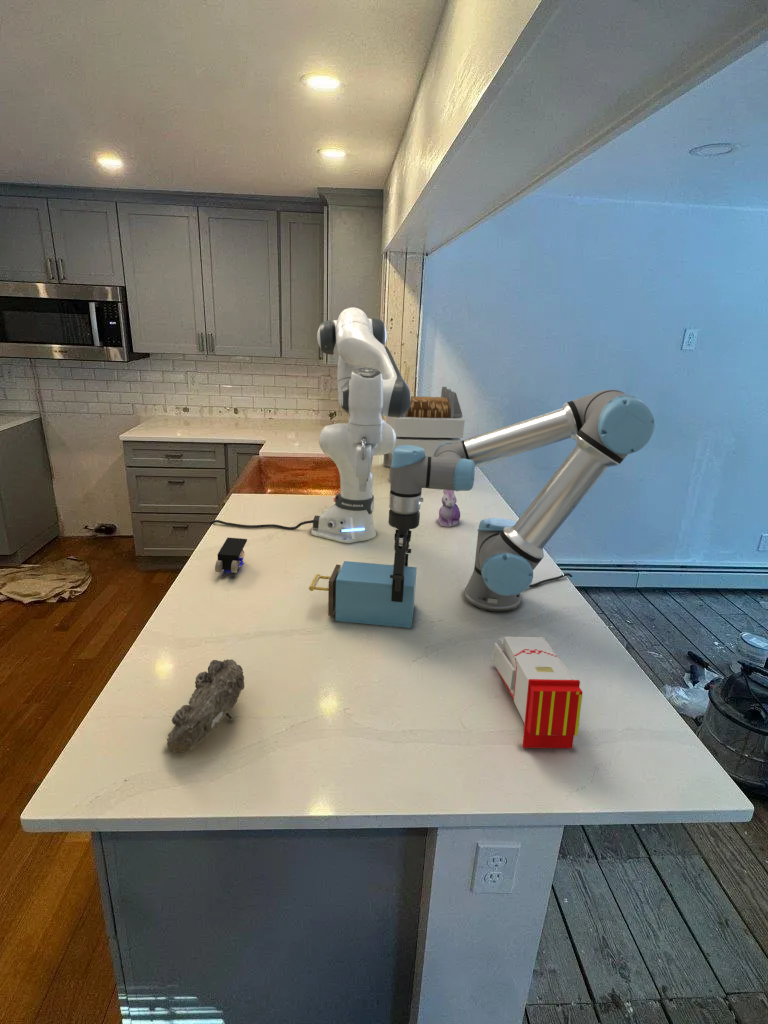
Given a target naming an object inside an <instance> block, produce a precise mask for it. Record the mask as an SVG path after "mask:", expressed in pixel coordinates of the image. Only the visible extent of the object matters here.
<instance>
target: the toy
mask: <svg viewBox="0 0 768 1024" xmlns="http://www.w3.org/2000/svg"><path fill="white" fill-rule="evenodd" d="M491 662H492V663H493V665H494V667H495V669H496V671H497V673H498V675H499V676H500V678H501V680H502V683H503V684H504V686H505V688H506V689H507V691H508V693H509V695H510V697H511V698H512V700H513V702H514V705H515V707H516V709H517V711H518V713H519V715H520V717H521V719H522V722H523V724H524V725H523V736H522V748H524V749H573V747H574V738H575V736H577V737H578V734H579V725H580V717H581V710H582V709H581V708H582V701H583V700H582V699H583V690H582V689H581V688H580V685H581V681H580V679H574V677H573V676H572V675H571V673H570V672H569V670H568V669H567V668H566V667H565V665H564V664H563V662H562V661H561V660H560V658H559V657H558V656H557V654H556V653H555V651H554V650H553V649H552V647H551V645H550V643H549V642H547V640H546V639H545V637H543V636H542V637H541V636H535V637H534V636H503V637H500V638H499V642H498V643H497V642H494V643H493V649H492V657H491Z"/></svg>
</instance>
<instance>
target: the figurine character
mask: <svg viewBox="0 0 768 1024" xmlns="http://www.w3.org/2000/svg"><path fill="white" fill-rule="evenodd" d="M247 542H248V538H240V537H226V539H225V541H224V543H223V544H222V546H221V547H220V549H219V551H218V552H217V560H216V562H215V564H214V572H215V573H221V577H222V578H224V577H225V576H226V574H227V573H230V574H231V573H232V574H231V578H234V577H235V575H236V573H237V572H239V571H240V567H242V566H243V565H244V564H245V562H244V558H245V551H244V547H245V546H246V544H247Z"/></svg>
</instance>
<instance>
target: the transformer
mask: <svg viewBox="0 0 768 1024" xmlns="http://www.w3.org/2000/svg"><path fill="white" fill-rule="evenodd" d="M440 393H441V394H440V396H415V395H414V396H413V395H411V403H410V408H409V410H408V411H407V412H406V413H405V414H403V415H402V416H401V417H399V418H396V417H388V416H385V422H386V423H387V424H389V425H390V426H391V427H392V428H393V429H394V431H395V434H396V445H395V447H394V449H395V448H396V447H398V446H401V445H414V446H419V447H422V448H423V449H424V452H425V456H428V457H433V455H434V453H435V450H436V449H437V447H438V446H439V445H441V444H443V443H446V442H450V443H456V442H459V441H463V440H462V439H463V438H464V431H465V430H464V429H465V419H464V418H463V411H462V408H461V405H460V402H459V398H458V395H457V392H455V391H453V390H452V389H451V388H447V386H442V387H441V392H440ZM394 449H393V450H394ZM393 450H392V451H391V452H390V453H387V454H383V466H384V467H388V468H389V475H388V476H389V477H388V478H389V480H390V481H391V465H392V456H393Z"/></svg>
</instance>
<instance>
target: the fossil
mask: <svg viewBox="0 0 768 1024" xmlns="http://www.w3.org/2000/svg"><path fill="white" fill-rule="evenodd" d="M243 670H244V669H243V667H242V665H240V664H237V662H236V661H235V660H234V659H232V658H231V659H227V658H226V659H224V660H223V661H222V660H217V659H212V660H211V661H210V663H209V665H208V666H207V671H201V672H199V673H198V674H197V675H196V676H195V680H194V684H195V685H194V687H195V689H194V690H193V693H192V694H191V697H190V698H189V700H188V704H184V705H182V706H181V707H180V709H177V710H176V711H175V713H174V715H173V716H172V718H171V723H172V724H173V727H172V730H171V731H170V732H168V734H167V738H166V741H167V742H166V745H167V749H168V750H169V751H173V752H174V753H176V754H178V753H182V752H188V751H189V752H192V751H193V750H195V748H196V747H197V746H199V744H200V743H201V742H203V741H204V740H205V739H206V738H207V737H208V736H209V735H210V734H211V733H212V732H214V730H215V729H217V727H218V726H219V724H220V722H221V721H222V720H223V719H224V718H225V716H226V717H227V719H229V720H233V717H232V715H230V714H229V710H230V709H231V708H234V706H235V704H236V703H237V702H238V699H239V697H240V695H241V693H242V691H243V690H245V689H244V688H245V675H244V671H243Z"/></svg>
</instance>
